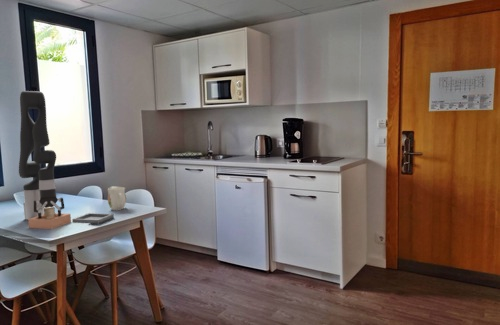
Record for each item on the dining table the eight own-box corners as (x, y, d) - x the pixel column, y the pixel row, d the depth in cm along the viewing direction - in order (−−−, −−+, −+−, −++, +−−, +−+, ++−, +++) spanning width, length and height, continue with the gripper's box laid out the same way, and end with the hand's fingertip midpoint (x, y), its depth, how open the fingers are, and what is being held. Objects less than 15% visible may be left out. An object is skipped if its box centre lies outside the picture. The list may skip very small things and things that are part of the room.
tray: (72, 223, 204) (72, 219, 204) (89, 217, 217) (89, 213, 217) (98, 224, 200) (98, 220, 200) (113, 218, 214) (113, 213, 213)
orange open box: (29, 229, 194) (28, 219, 193) (49, 222, 208) (48, 212, 207) (51, 230, 191) (51, 220, 190) (71, 223, 204) (70, 213, 204)
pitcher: (113, 213, 226) (111, 190, 225) (105, 208, 241) (103, 187, 239) (131, 210, 232) (130, 188, 231) (122, 205, 247) (121, 185, 246)
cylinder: (42, 225, 197) (41, 208, 196) (50, 223, 202) (48, 206, 201) (50, 226, 196) (49, 209, 195) (57, 223, 201) (56, 207, 200)
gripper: (32, 190, 190) (34, 221, 191) (63, 187, 197) (65, 217, 199) (31, 188, 196) (34, 219, 198) (61, 185, 204) (64, 215, 205)
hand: (50, 218), depth 198 cm, fingers open, 8 cm apart
